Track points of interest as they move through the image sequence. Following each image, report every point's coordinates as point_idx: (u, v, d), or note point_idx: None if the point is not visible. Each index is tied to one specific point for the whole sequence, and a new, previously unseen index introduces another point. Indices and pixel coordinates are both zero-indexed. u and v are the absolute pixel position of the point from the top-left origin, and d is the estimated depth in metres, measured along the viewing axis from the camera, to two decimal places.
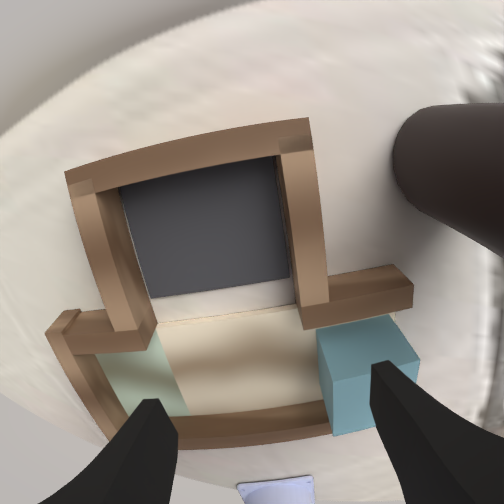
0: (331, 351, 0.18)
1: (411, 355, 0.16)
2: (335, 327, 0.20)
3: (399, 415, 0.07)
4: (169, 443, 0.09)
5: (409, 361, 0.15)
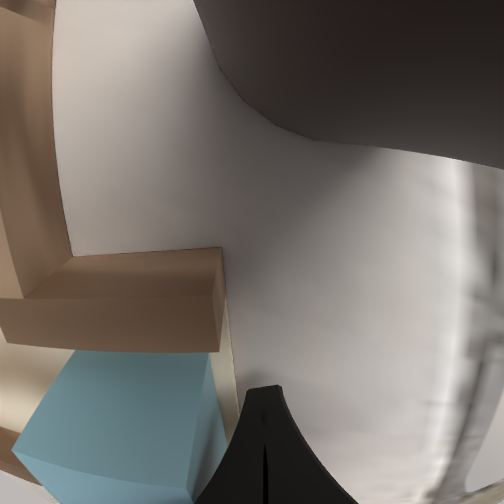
0: (57, 395, 0.08)
1: (174, 468, 0.06)
2: (102, 354, 0.10)
3: None
4: None
5: (158, 481, 0.05)
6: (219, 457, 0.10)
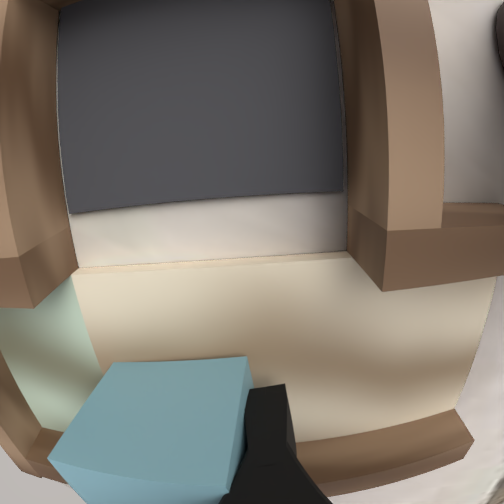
0: (95, 405, 0.08)
1: (214, 467, 0.06)
2: (140, 365, 0.10)
3: None
4: (293, 431, 0.09)
5: (197, 481, 0.05)
6: None
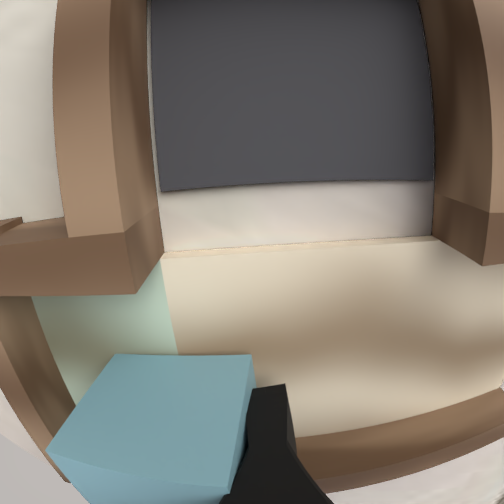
0: (95, 397, 0.08)
1: (216, 467, 0.06)
2: (142, 358, 0.10)
3: None
4: (293, 431, 0.09)
5: (198, 481, 0.05)
6: None
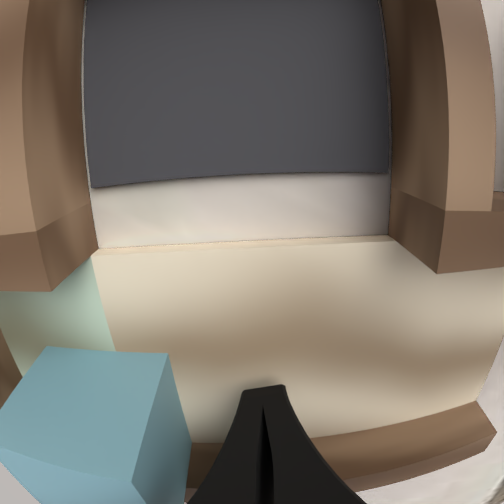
0: (25, 389, 0.08)
1: (123, 462, 0.06)
2: (69, 352, 0.10)
3: None
4: None
5: (106, 473, 0.05)
6: (179, 456, 0.10)
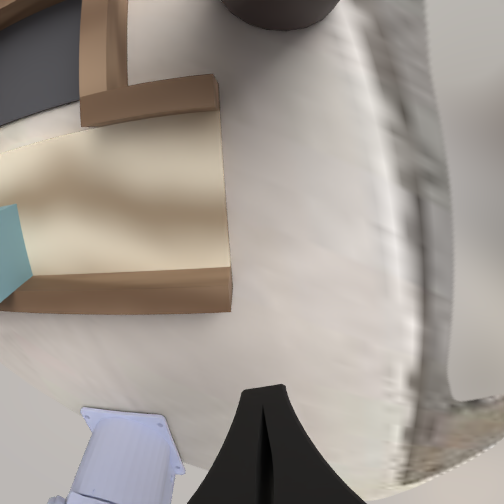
0: None
1: None
2: None
3: None
4: None
5: None
6: (12, 264, 0.16)
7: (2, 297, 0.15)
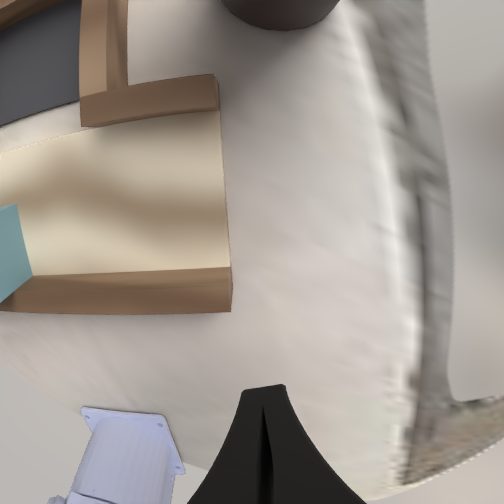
0: None
1: None
2: None
3: None
4: None
5: None
6: (12, 264, 0.16)
7: (2, 297, 0.15)
